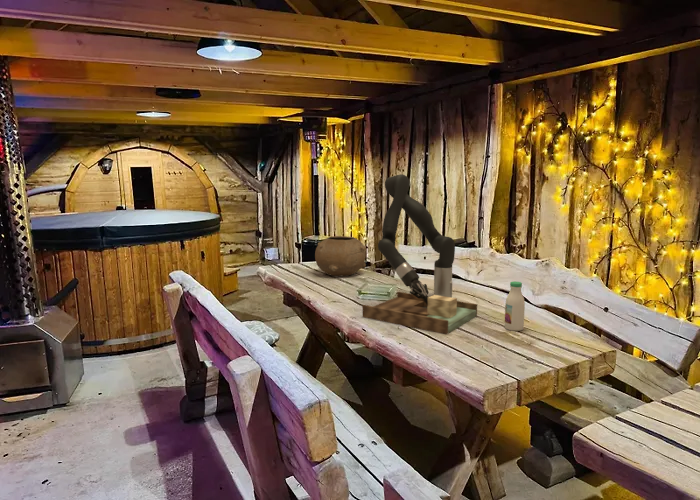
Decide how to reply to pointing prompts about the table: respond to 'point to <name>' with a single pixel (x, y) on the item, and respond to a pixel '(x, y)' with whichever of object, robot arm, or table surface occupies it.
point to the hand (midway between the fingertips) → (430, 303)
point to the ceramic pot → (340, 255)
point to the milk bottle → (514, 308)
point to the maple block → (442, 306)
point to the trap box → (418, 314)
